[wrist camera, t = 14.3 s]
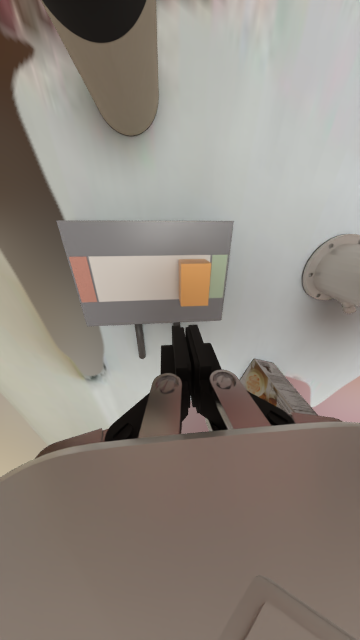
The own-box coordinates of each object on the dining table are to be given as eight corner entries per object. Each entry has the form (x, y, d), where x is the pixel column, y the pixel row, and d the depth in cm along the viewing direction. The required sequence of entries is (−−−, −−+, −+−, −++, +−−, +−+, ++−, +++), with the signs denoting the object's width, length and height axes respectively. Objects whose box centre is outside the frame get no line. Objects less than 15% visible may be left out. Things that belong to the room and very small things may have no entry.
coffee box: (256, 386, 49) (294, 449, 35) (237, 382, 48) (268, 447, 33) (274, 362, 45) (325, 422, 31) (253, 357, 44) (297, 418, 30)
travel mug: (134, 153, 24) (78, 2, 8) (79, 93, 21) (-178, -332, 5) (171, 92, 22) (197, -290, 6) (116, 14, 19) (-149, -1218, 3)
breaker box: (222, 222, 29) (233, 221, 24) (209, 352, 42) (215, 367, 37) (73, 222, 27) (55, 220, 22) (108, 358, 40) (101, 374, 35)
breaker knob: (204, 258, 26) (211, 263, 23) (202, 296, 29) (208, 305, 25) (178, 259, 26) (181, 263, 22) (178, 297, 29) (181, 306, 25)
